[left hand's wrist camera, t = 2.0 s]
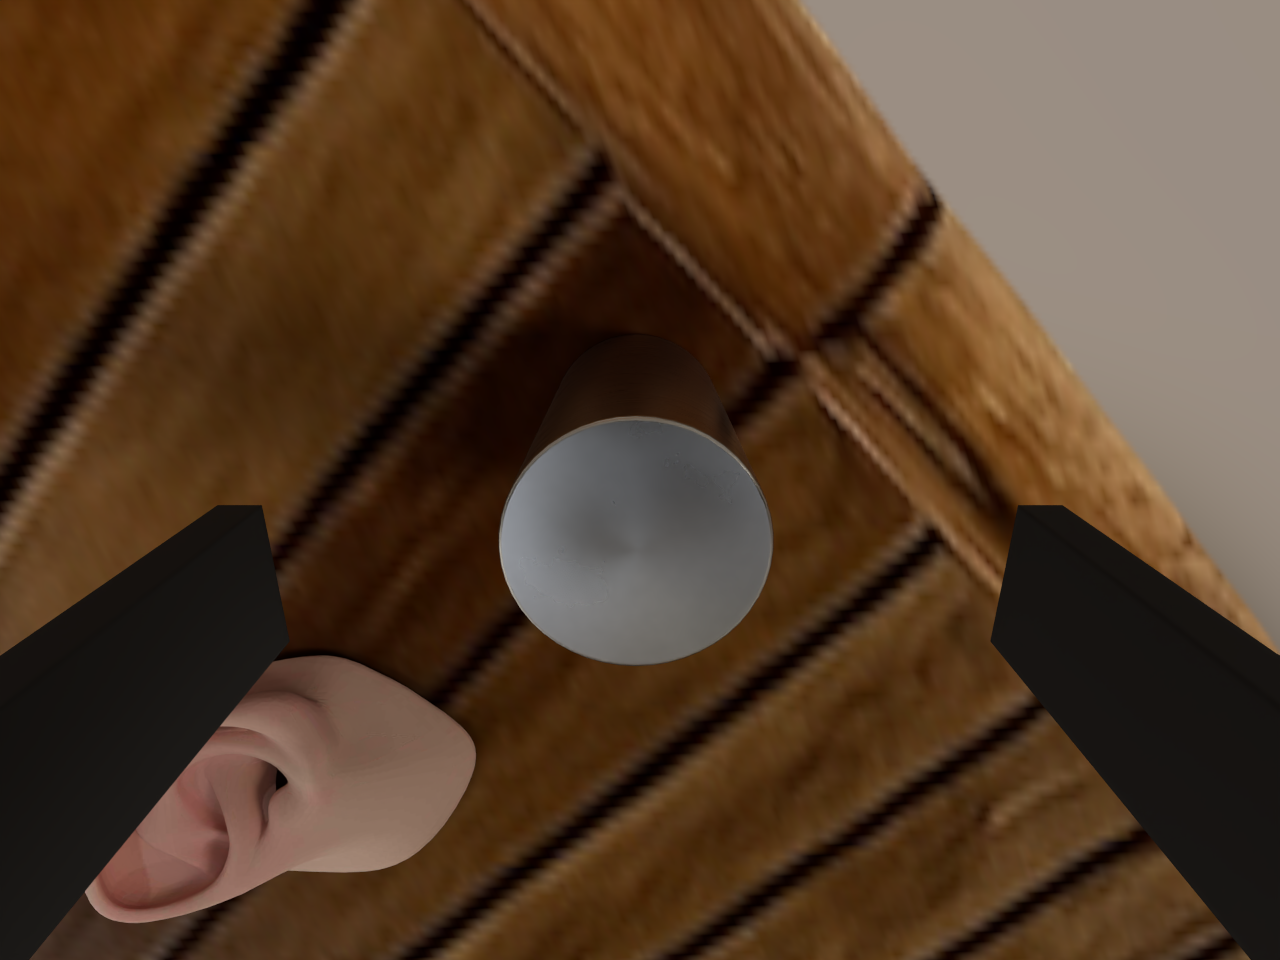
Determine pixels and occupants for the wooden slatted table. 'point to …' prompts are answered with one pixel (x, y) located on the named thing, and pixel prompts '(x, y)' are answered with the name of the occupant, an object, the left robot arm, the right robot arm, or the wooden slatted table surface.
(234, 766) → the anatomical model
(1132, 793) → the left robot arm
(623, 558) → the can
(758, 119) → the wooden slatted table surface
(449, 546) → the wooden slatted table surface
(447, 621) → the wooden slatted table surface
